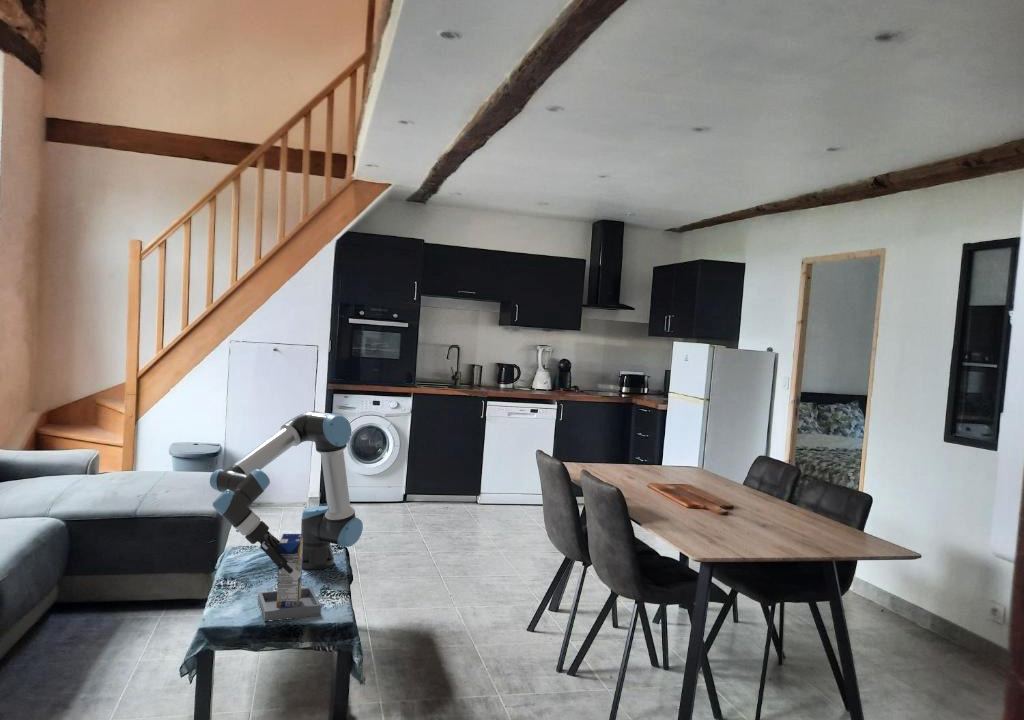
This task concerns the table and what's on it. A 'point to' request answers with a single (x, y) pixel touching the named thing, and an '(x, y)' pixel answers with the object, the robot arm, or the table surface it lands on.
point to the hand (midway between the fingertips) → (298, 572)
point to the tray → (305, 608)
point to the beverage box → (286, 584)
